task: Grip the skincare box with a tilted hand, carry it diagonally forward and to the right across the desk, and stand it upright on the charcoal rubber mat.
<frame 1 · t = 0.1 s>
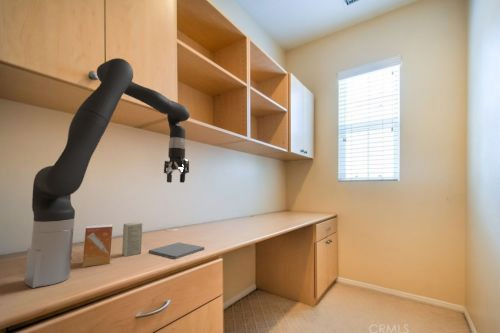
hand: (175, 182, 107), 29 cm above the table, tool pointing down, fingers open, 8 cm apart
rubber mat: (177, 251, 98), on the table
skincare box: (131, 254, 93), on the table
small box: (96, 263, 81), on the table
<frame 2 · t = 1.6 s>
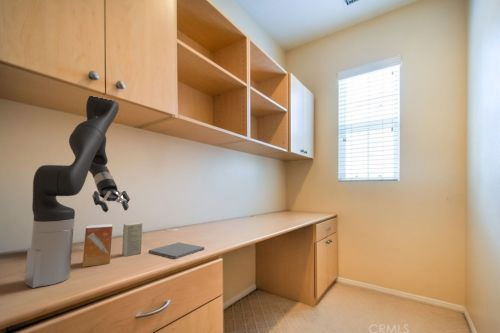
hand: (117, 210, 101), 17 cm above the table, tool tilted 45°, fingers open, 8 cm apart
nothing on the table moved.
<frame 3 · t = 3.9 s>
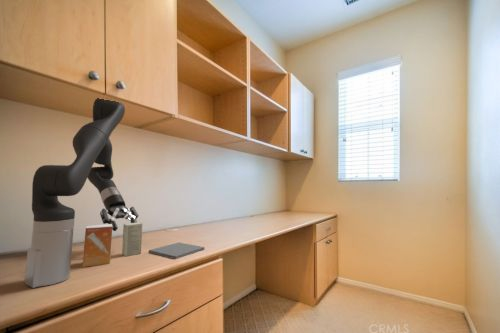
hand: (126, 228, 96), 10 cm above the table, tool tilted 45°, fingers open, 8 cm apart
nothing on the table moved.
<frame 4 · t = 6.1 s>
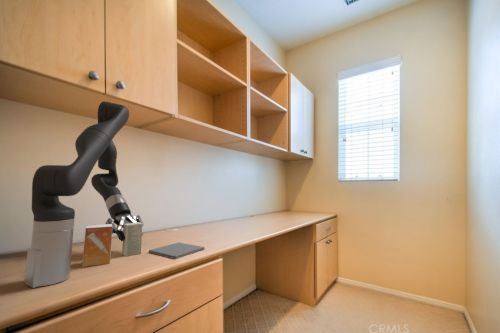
hand: (132, 238, 93), 6 cm above the table, tool tilted 45°, fingers closed on skincare box, 7 cm apart
skincare box: (131, 254, 93), on the table, touching gripper
everything else where it was.
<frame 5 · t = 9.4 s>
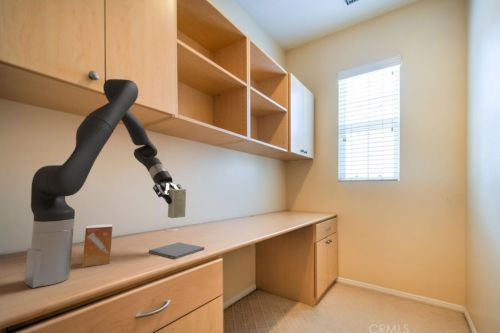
hand: (177, 202, 100), 20 cm above the table, tool tilted 45°, fingers closed on skincare box, 7 cm apart
skincare box: (176, 217, 99), point 14 cm above the table, touching gripper
everything else where it was.
when the fingers open (8 cm above the table, at t = 12.9 s): skincare box stays where it is, resting on rubber mat.
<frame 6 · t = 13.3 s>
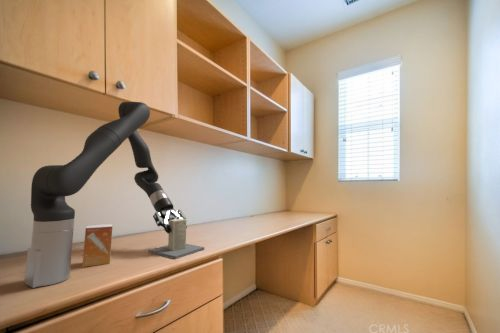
hand: (177, 230, 98), 8 cm above the table, tool tilted 45°, fingers open, 8 cm apart
skincare box: (176, 249, 98), point 1 cm above the table, touching rubber mat
everything else where it was.
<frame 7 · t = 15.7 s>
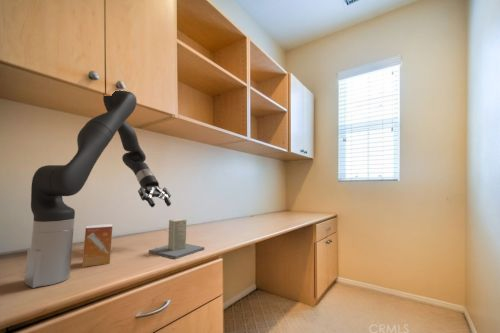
hand: (161, 205, 103), 19 cm above the table, tool tilted 45°, fingers open, 8 cm apart
nothing on the table moved.
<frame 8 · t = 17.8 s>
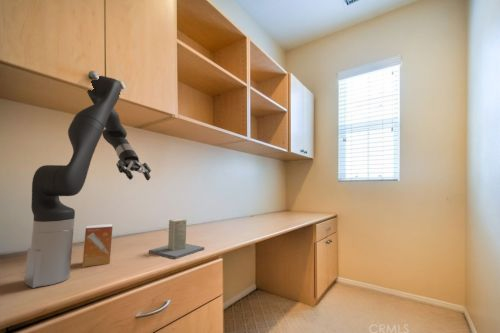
hand: (140, 178, 103), 31 cm above the table, tool tilted 45°, fingers open, 8 cm apart
nothing on the table moved.
at the end: skincare box inside the target area on the rubber mat (0.3 cm from its centre), point 0.8 cm above the rubber mat's base; skincare box tilted 0°; the gripper is holding nothing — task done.
